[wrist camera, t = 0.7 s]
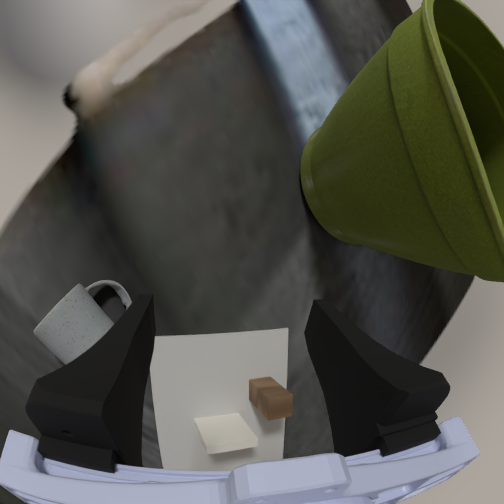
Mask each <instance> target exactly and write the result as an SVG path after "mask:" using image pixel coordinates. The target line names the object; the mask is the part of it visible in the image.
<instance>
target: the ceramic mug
mask: <svg viewBox="0 0 504 504" xmlns="http://www.w3.org/2000/svg"><path fill="white" fill-rule="evenodd" d="M100 285H109V286H111V287H112V288H114V289H115V291H116V292H117V294H118V295H119V296H120V298H121V299H122V303H123V304H124V305H126V310H127V308H128V307H129V306H130V305H131V303H132V302H131V299H130V296H129V295H128V293H127V292H126V290H125V289H124V288H123V287H122V286H121V285H120V284H119V283H117V282H115V281H111V280H102V281H98V282H95V283H93V284H91V285H90V286H88V287H87V288H84V287H83V286H82V285H81V284H78V285H76V286H75V287H74V288H73V289H72V290H71V291H70V292H69V293H68V294H67V295H66V296H65V297H64V298H63V299H62V300H61V301H60V302H59V303H58V304H57V305H56V306H55V307H54V308H53V309H52V310H51V311H50V312H49V313H48V314H47V316H46V317H45V318H44V319H43V320H42V321H41V322H40V323H39V325H38V326H37V327H36V328H35V330H34V334H35V335H36V336H37V337H38V338H39V339H40V340H41V342H42V343H44V344H45V346H46V347H47V348H48V349H49V350H50V351H51V352H53V353H54V354H55V355H56V356H57V357H58V358H59V359H60V360H61V361H62V362H63V363H64V364H65V365H66V364H68V363H70V362H71V361H73V360H74V359H76V358H77V357H79V356H80V355H81V354H83V353H84V352H85V351H87V350H88V349H89V348H90V347H92V346H93V345H94V344H95V343H96V342H97V341H98V340H99V339H100V338H102V337H103V336H104V335H105V334H106V332H107V331H108V330H109V329H110V328H111V327H112V326H113V325H114V323H113V322H112V320H111V319H110V318H109V317H108V316H107V315H106V314H105V313H104V312H103V310H102V309H101V308H100V307H99V306H98V304H97V303H96V302H95V301H94V299H93V298H92V297H91V296H90V295H89V291H90V290H91V289H93V288H95V287H97V286H100Z"/></svg>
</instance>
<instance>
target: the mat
mask: <svg viewBox="0 0 504 504" xmlns="http://www.w3.org/2000/svg"><path fill="white" fill-rule="evenodd" d="M287 359H288V328H281V329H271V330H260V331H248V332H234V333H219V334H202V335H180V336H155V342H154V351H153V355H152V360H151V364H150V374H151V385H152V394H153V403H154V411H155V419H156V427H157V434H158V440H159V447H160V453H161V459H162V464H163V469H167V470H185V471H232V470H234V469H235V468H236V467H238V466H241V465H244V464H247V463H253V462H259V461H270V460H281V459H283V445H284V428H285V418H281V419H276V420H271V421H268V420H267V419H266V418H265V417H264V416H263V414H262V413H261V412H260V411H259V410H258V409H257V408H256V407H255V406H254V404H253V403H252V402H251V401H250V400H249V379H256V378H263V377H271V378H273V379H274V380H275V381H276V382H278V383H279V384H280V385H281V386H283V387H284V388H285V389H286V386H287ZM234 413H239V414H240V416H241V417H242V418H243V420H244V421H245V422H246V424H247V425H248V426H249V428H250V429H251V430H252V432H253V433H254V434H255V435H256V437H257V438H258V446H256V447H251V448H246V449H240V450H234V451H228V452H222V453H215V454H207V453H206V451H205V449H204V446H203V444H202V442H201V439H200V437H199V435H198V432H197V430H196V428H195V424H194V418H202V417H211V416H219V415H227V414H234Z"/></svg>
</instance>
